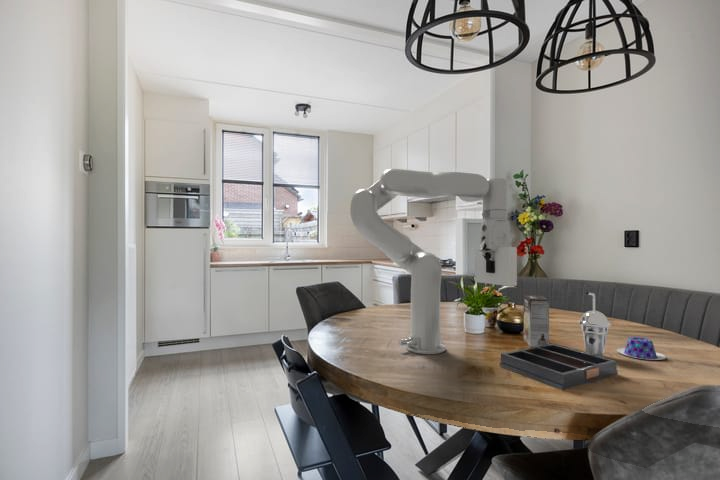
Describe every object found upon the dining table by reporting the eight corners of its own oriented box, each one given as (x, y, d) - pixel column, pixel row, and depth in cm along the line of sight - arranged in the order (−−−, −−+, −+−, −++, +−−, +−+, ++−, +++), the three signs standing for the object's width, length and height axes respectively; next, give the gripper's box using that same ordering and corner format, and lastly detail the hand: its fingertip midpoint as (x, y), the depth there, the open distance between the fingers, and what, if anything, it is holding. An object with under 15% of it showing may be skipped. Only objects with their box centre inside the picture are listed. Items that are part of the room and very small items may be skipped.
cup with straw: (618, 359, 108) (618, 292, 108) (593, 361, 106) (592, 293, 106) (594, 350, 116) (594, 288, 116) (570, 352, 114) (570, 289, 114)
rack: (563, 390, 85) (563, 375, 85) (499, 366, 101) (499, 353, 102) (619, 374, 95) (618, 361, 95) (552, 354, 112) (552, 343, 112)
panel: (509, 286, 111) (509, 247, 111) (475, 281, 123) (475, 246, 123) (516, 285, 112) (516, 247, 112) (482, 281, 125) (482, 246, 125)
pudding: (612, 355, 112) (612, 338, 112) (621, 348, 120) (621, 332, 121) (662, 365, 104) (662, 346, 104) (668, 356, 112) (668, 339, 112)
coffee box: (522, 339, 130) (522, 294, 130) (542, 340, 128) (542, 295, 128) (529, 346, 121) (529, 298, 121) (550, 348, 119) (550, 299, 119)
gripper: (485, 214, 111) (485, 274, 111) (521, 216, 118) (522, 272, 118) (467, 216, 117) (467, 272, 117) (503, 217, 125) (503, 270, 125)
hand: (495, 271), depth 118 cm, fingers closed on panel, 3 cm apart
